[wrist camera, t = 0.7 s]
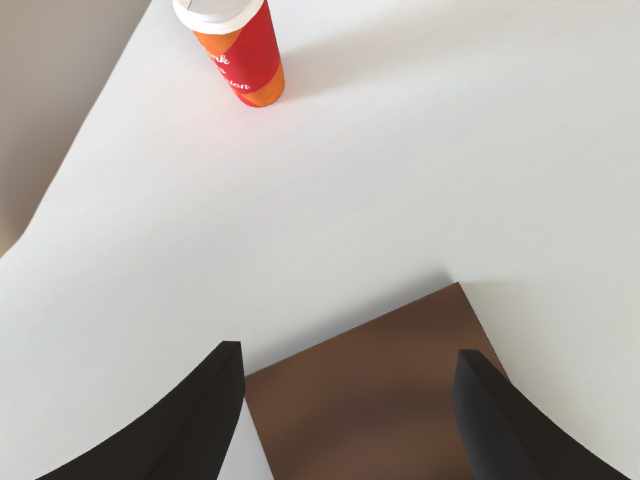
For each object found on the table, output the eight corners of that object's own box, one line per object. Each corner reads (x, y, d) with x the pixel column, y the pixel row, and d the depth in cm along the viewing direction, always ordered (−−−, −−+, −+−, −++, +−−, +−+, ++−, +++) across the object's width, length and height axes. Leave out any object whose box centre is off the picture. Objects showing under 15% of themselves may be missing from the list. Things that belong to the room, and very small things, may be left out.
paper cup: (220, 66, 44) (156, -47, 31) (285, 45, 44) (249, -78, 30) (235, 126, 43) (175, 35, 29) (302, 105, 42) (273, 3, 29)
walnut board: (543, 455, 33) (552, 461, 32) (308, 557, 34) (306, 568, 32) (454, 283, 37) (458, 281, 35) (243, 377, 37) (238, 380, 36)
